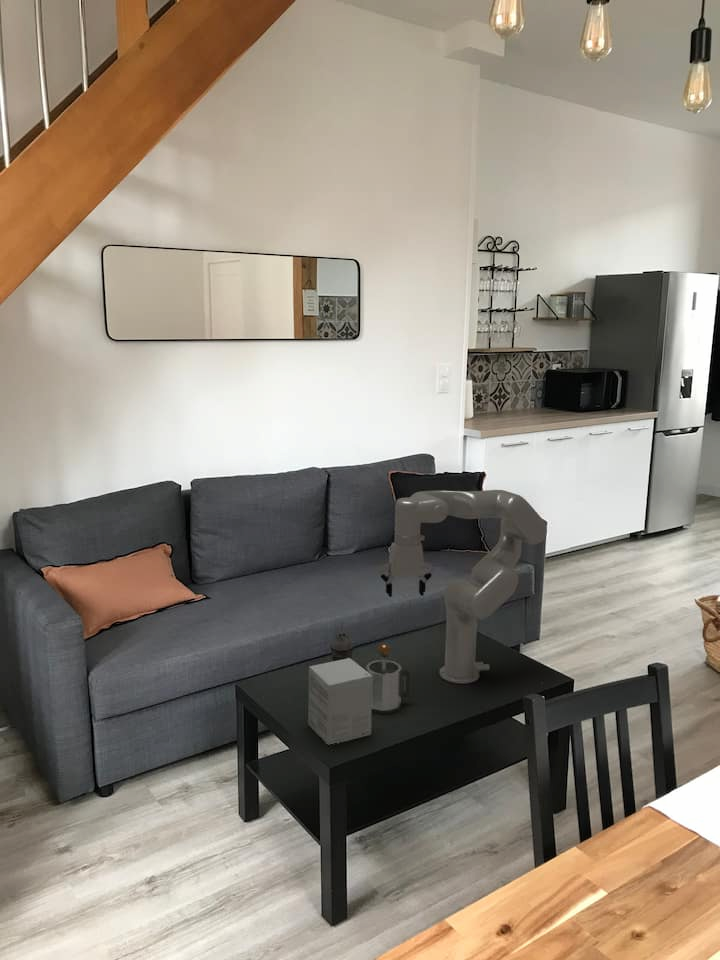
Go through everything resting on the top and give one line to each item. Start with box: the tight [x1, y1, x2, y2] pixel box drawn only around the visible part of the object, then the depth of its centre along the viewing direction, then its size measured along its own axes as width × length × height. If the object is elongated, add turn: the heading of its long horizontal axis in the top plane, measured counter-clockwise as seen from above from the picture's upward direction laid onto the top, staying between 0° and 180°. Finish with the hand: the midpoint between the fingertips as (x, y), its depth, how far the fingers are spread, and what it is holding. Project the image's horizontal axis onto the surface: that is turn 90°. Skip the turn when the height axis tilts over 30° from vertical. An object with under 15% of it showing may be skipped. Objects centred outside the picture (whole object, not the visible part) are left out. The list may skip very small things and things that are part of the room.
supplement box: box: [307, 658, 372, 746], centre depth 212 cm, size 13×13×18 cm
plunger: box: [376, 642, 392, 674], centre depth 226 cm, size 8×8×16 cm
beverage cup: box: [330, 621, 355, 662], centre depth 241 cm, size 7×7×20 cm
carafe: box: [365, 659, 411, 715], centre depth 227 cm, size 13×10×12 cm
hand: (405, 594), depth 233 cm, fingers open, 9 cm apart
